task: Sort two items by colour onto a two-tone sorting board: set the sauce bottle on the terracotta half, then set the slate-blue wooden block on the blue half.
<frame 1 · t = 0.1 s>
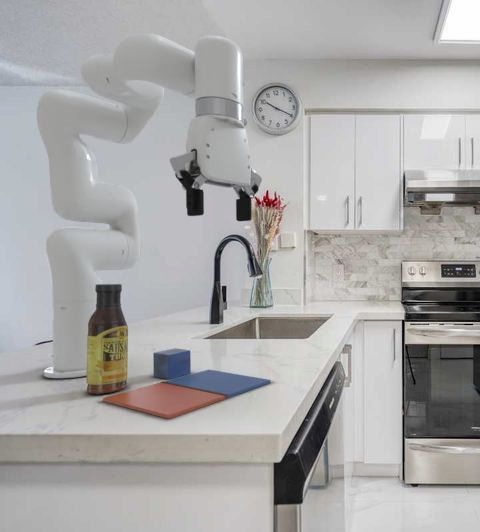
hand: (221, 218, 70), 31 cm above the table, tool pointing down, fingers open, 9 cm apart
sorting board: (192, 391, 76), on the table
sauce bottle: (108, 391, 78), on the table
blue block: (172, 375, 88), on the table
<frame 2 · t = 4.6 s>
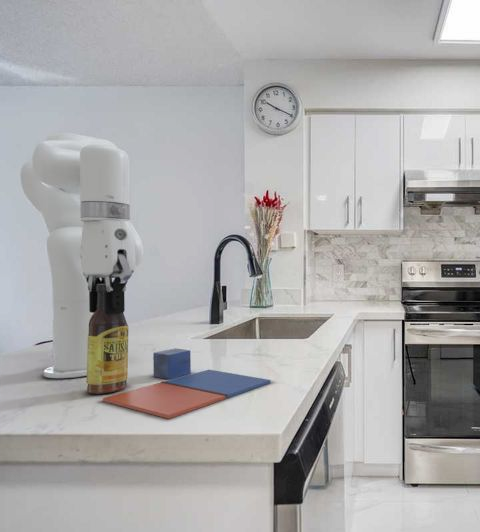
hand: (107, 311, 77), 15 cm above the table, tool pointing down, fingers closed on sauce bottle, 4 cm apart
sauce bottle: (108, 391, 78), on the table, touching gripper
everything else where it was.
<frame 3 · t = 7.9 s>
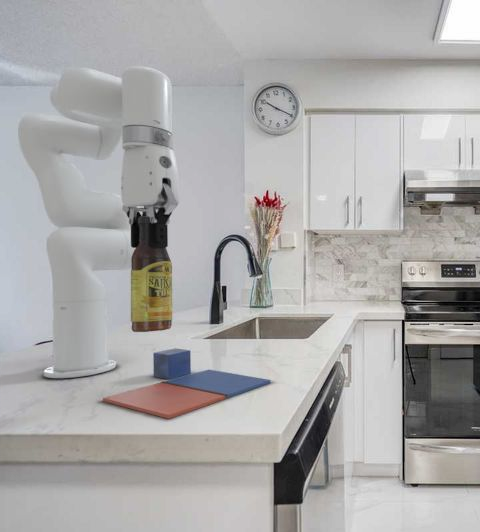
hand: (149, 246, 73), 27 cm above the table, tool pointing down, fingers closed on sauce bottle, 4 cm apart
sauce bottle: (153, 331, 73), point 12 cm above the table, touching gripper
everything else where it was.
when the fingers open (15 cm above the table, at t = 11.2 s): sauce bottle stays where it is, resting on sorting board.
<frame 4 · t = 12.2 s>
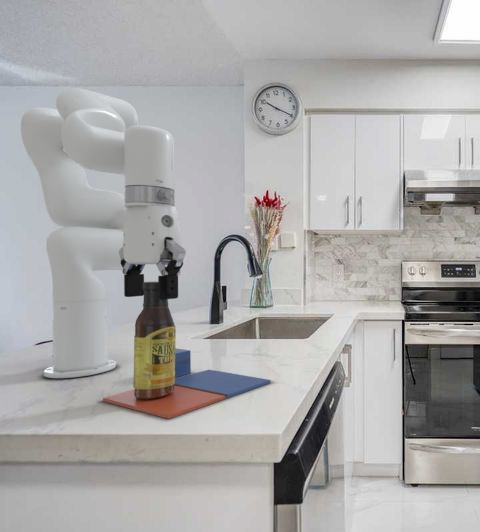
hand: (150, 297, 73), 18 cm above the table, tool pointing down, fingers open, 9 cm apart
sauce bottle: (155, 396, 73), resting on sorting board
everything else where it was.
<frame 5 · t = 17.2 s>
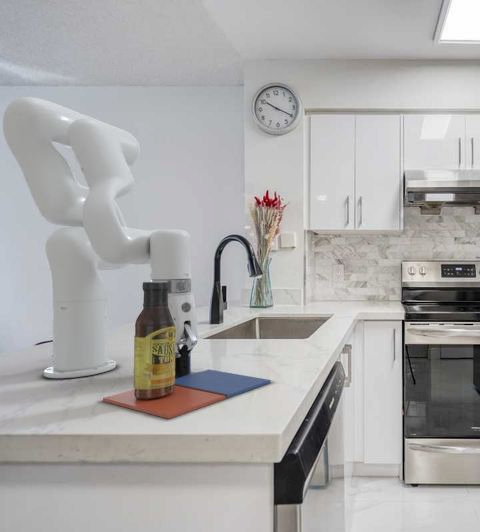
hand: (172, 373, 88), 0 cm above the table, tool pointing down, fingers closed on blue block, 5 cm apart
blue block: (172, 375, 88), on the table, touching gripper
everything else where it was.
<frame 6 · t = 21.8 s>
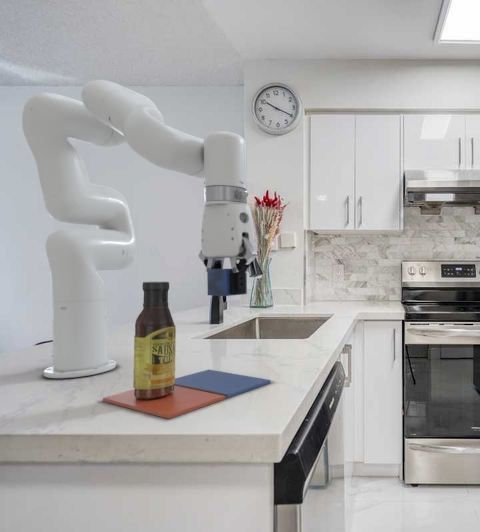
hand: (227, 292, 80), 18 cm above the table, tool pointing down, fingers closed on blue block, 5 cm apart
blue block: (227, 294, 80), point 18 cm above the table, touching gripper
everything else where it was.
when the fingers open (1 cm above the table, at t = 26.7 s): blue block stays where it is, resting on sorting board.
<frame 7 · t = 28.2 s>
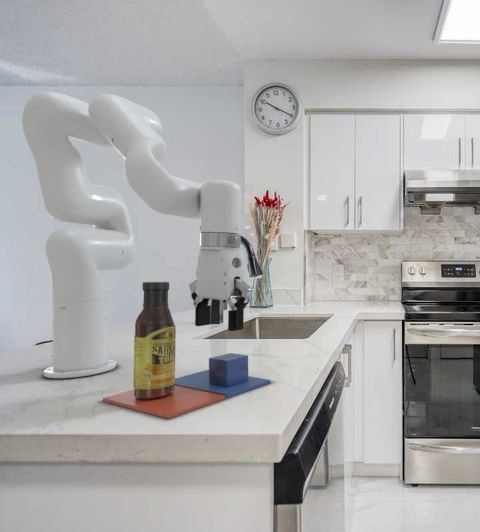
hand: (218, 327, 84), 11 cm above the table, tool pointing down, fingers open, 9 cm apart
blue block: (229, 382, 80), point 1 cm above the table, touching sorting board
everything else where it was.
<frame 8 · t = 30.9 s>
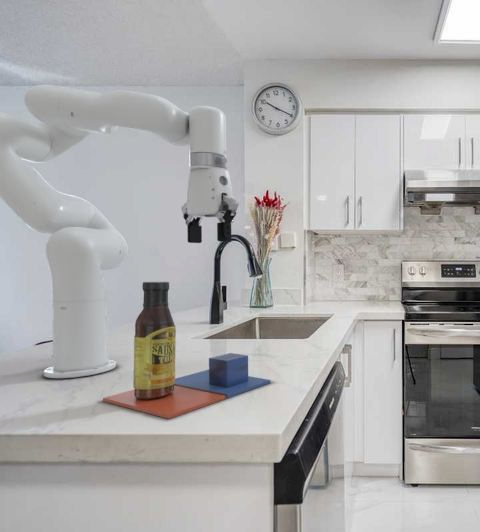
hand: (209, 242, 92), 28 cm above the table, tool pointing down, fingers open, 9 cm apart
nothing on the table moved.
at the end: sauce bottle inside the target area (1.3 cm from its centre), resting on sorting board; sauce bottle tilted 0°; blue block inside the target area (1.1 cm from its centre), point 0.6 cm above the table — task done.
